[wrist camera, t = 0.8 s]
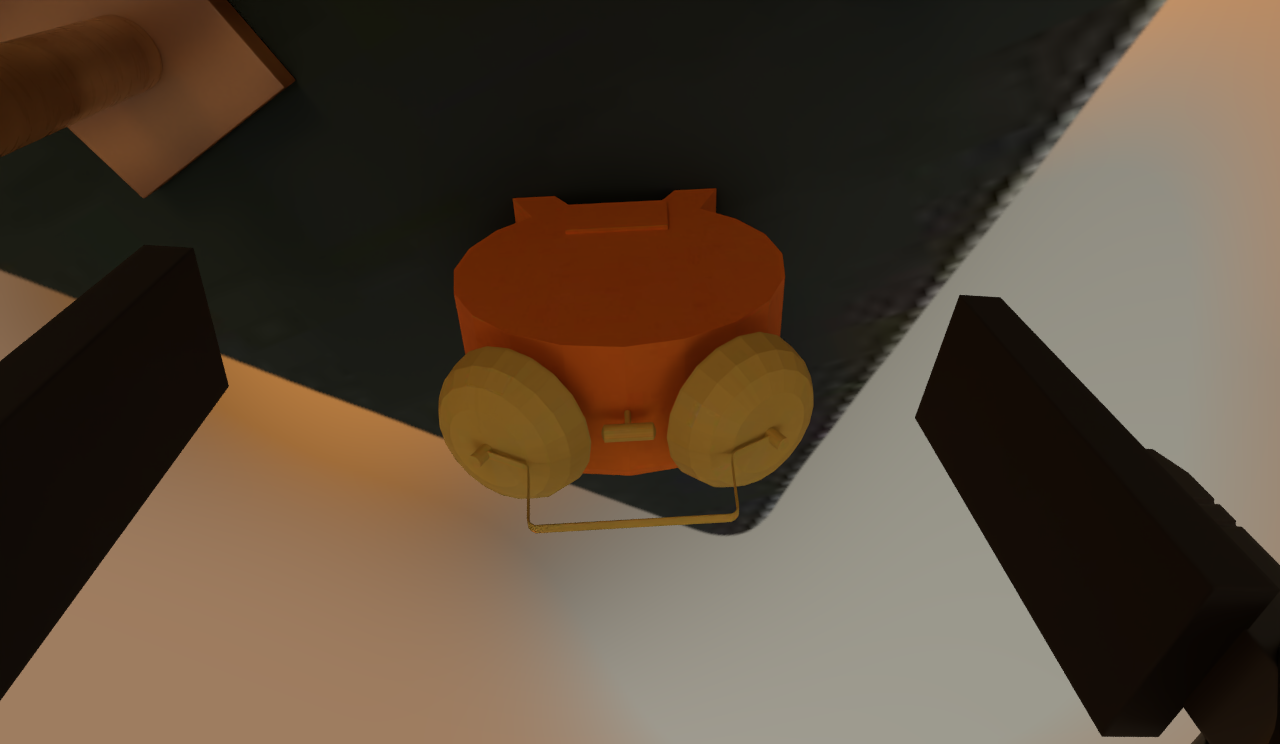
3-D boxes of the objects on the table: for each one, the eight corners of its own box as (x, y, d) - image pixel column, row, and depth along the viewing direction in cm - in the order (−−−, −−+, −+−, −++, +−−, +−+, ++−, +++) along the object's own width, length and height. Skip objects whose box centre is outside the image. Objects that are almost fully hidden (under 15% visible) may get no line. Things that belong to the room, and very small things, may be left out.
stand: (-23, 13, 31) (-375, 86, 20) (120, -126, 29) (-186, -132, 18) (159, 188, 36) (-45, 329, 24) (296, 80, 33) (142, 180, 22)
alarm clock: (496, 306, 40) (424, 611, 23) (479, 195, 36) (380, 459, 20) (743, 293, 40) (848, 586, 23) (748, 182, 37) (875, 431, 20)
